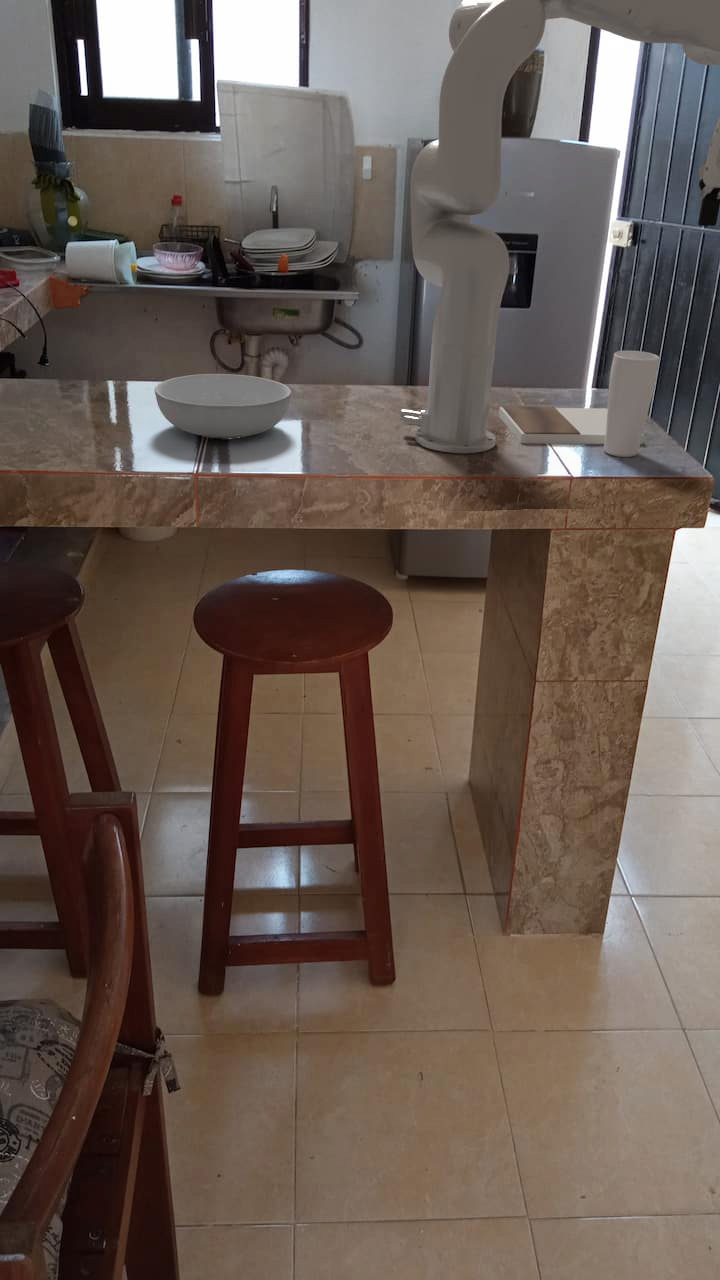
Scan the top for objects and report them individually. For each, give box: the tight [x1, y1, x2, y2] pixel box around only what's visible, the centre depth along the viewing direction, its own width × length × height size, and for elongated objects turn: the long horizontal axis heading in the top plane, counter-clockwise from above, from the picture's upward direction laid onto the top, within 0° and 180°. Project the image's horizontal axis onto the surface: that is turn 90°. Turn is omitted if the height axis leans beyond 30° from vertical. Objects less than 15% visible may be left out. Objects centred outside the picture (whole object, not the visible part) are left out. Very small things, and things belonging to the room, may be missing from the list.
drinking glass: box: [603, 350, 660, 458], centre depth 152 cm, size 7×7×15 cm
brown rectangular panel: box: [502, 405, 580, 434], centre depth 165 cm, size 9×16×2 cm, turn 5°
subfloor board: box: [498, 406, 645, 445], centre depth 166 cm, size 20×16×2 cm
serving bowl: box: [154, 373, 292, 440], centre depth 156 cm, size 21×21×7 cm
